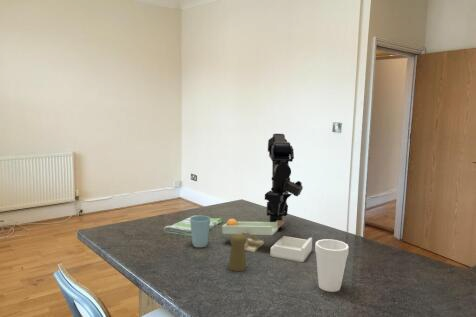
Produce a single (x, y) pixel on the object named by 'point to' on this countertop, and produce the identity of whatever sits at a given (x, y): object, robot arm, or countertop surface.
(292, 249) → the bin
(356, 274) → the countertop surface
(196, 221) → the cup
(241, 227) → the lever
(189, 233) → the dish towel
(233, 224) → the ball
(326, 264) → the foam cup
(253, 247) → the lever stand
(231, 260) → the olive knobbed post
